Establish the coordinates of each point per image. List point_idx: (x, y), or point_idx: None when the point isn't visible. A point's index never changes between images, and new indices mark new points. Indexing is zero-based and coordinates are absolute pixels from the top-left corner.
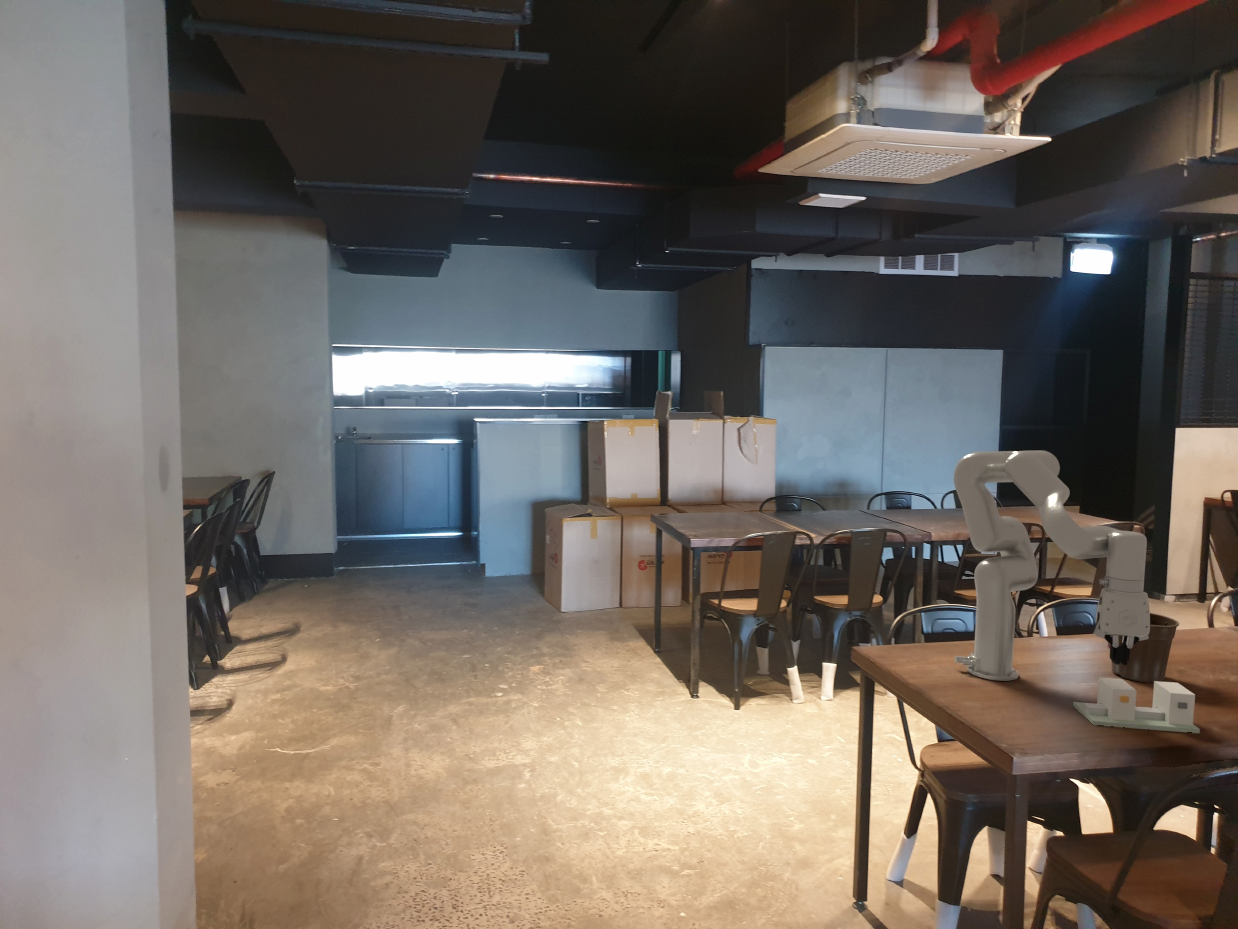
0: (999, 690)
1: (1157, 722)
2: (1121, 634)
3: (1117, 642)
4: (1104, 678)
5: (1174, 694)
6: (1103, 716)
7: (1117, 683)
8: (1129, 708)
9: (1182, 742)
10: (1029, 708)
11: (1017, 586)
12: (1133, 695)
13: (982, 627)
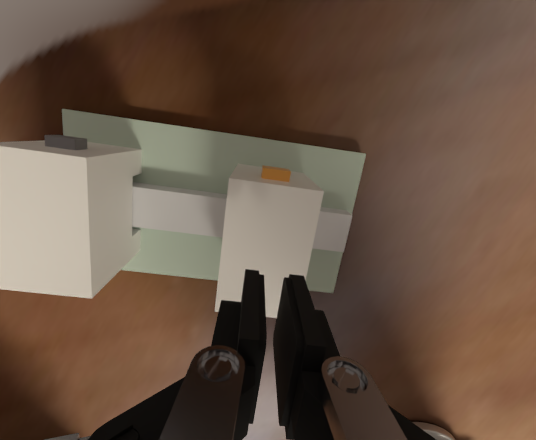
0: (455, 369)
1: (172, 155)
2: None
3: (339, 400)
4: None
5: (73, 155)
6: None
7: (262, 259)
8: (253, 170)
9: (160, 29)
10: (459, 262)
11: None
12: (241, 175)
13: None
